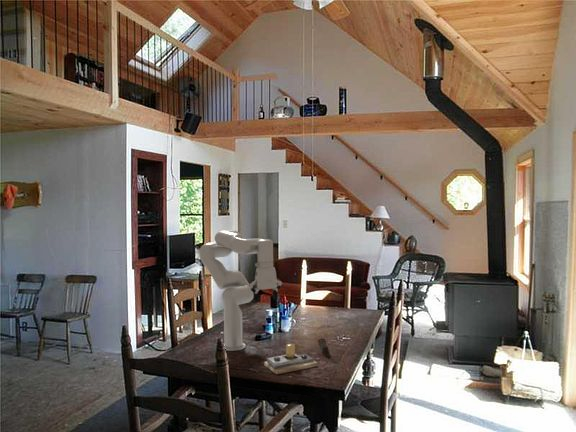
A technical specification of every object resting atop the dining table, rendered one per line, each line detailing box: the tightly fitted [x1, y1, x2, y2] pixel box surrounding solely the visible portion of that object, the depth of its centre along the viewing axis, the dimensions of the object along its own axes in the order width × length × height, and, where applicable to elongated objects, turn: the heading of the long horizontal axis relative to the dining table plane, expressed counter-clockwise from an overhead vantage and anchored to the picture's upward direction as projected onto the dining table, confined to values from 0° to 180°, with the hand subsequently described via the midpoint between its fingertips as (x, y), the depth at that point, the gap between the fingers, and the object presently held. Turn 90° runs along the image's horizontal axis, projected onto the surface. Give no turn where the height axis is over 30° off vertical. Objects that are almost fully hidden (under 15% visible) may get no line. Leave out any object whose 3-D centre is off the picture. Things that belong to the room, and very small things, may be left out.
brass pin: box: [285, 343, 296, 360], centre depth 197 cm, size 4×4×8 cm
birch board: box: [263, 360, 318, 375], centre depth 197 cm, size 13×21×2 cm, turn 117°
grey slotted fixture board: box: [266, 353, 315, 369], centre depth 196 cm, size 8×20×3 cm, turn 117°
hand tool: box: [317, 338, 328, 358], centre depth 217 cm, size 19×4×5 cm, turn 178°
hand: (265, 300), depth 206 cm, fingers open, 9 cm apart
